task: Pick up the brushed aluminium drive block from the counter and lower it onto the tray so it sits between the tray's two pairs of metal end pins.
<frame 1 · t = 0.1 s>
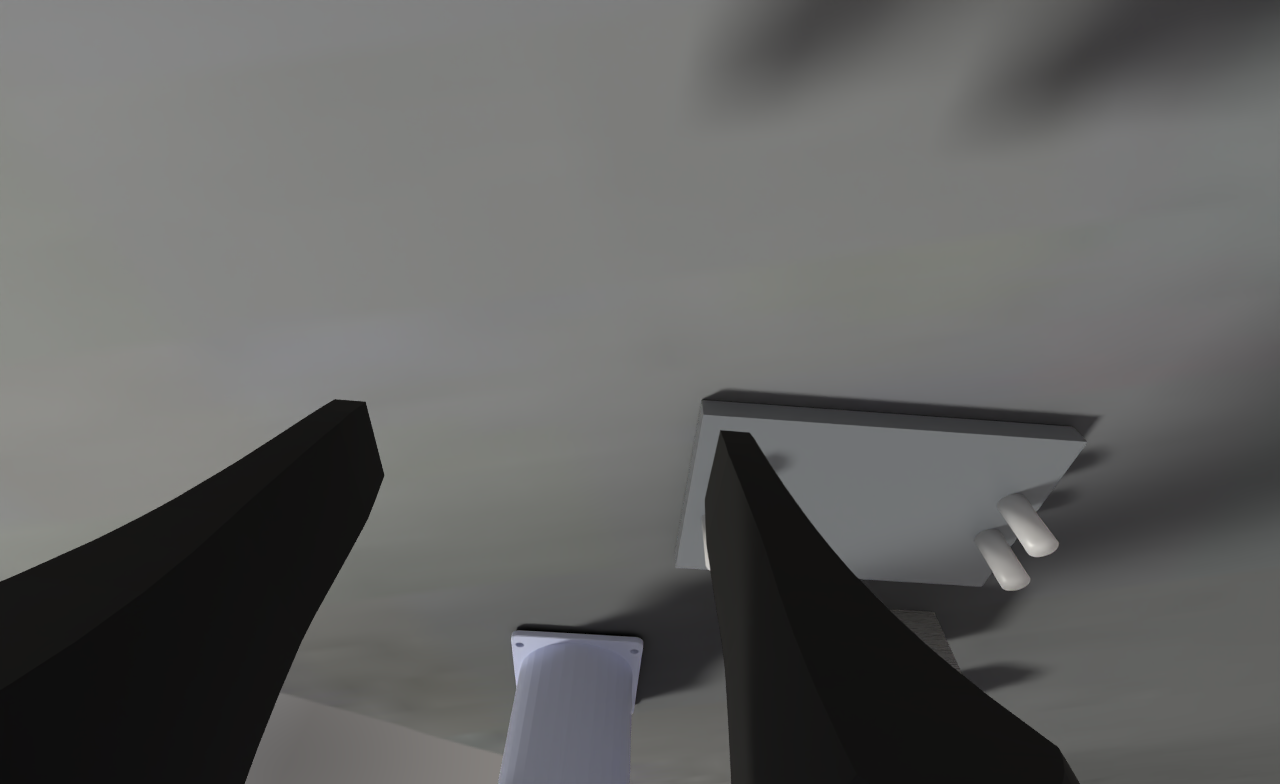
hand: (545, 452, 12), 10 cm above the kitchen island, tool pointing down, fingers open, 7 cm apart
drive: (846, 624, 33), on the kitchen island
pin tray: (853, 495, 26), on the kitchen island
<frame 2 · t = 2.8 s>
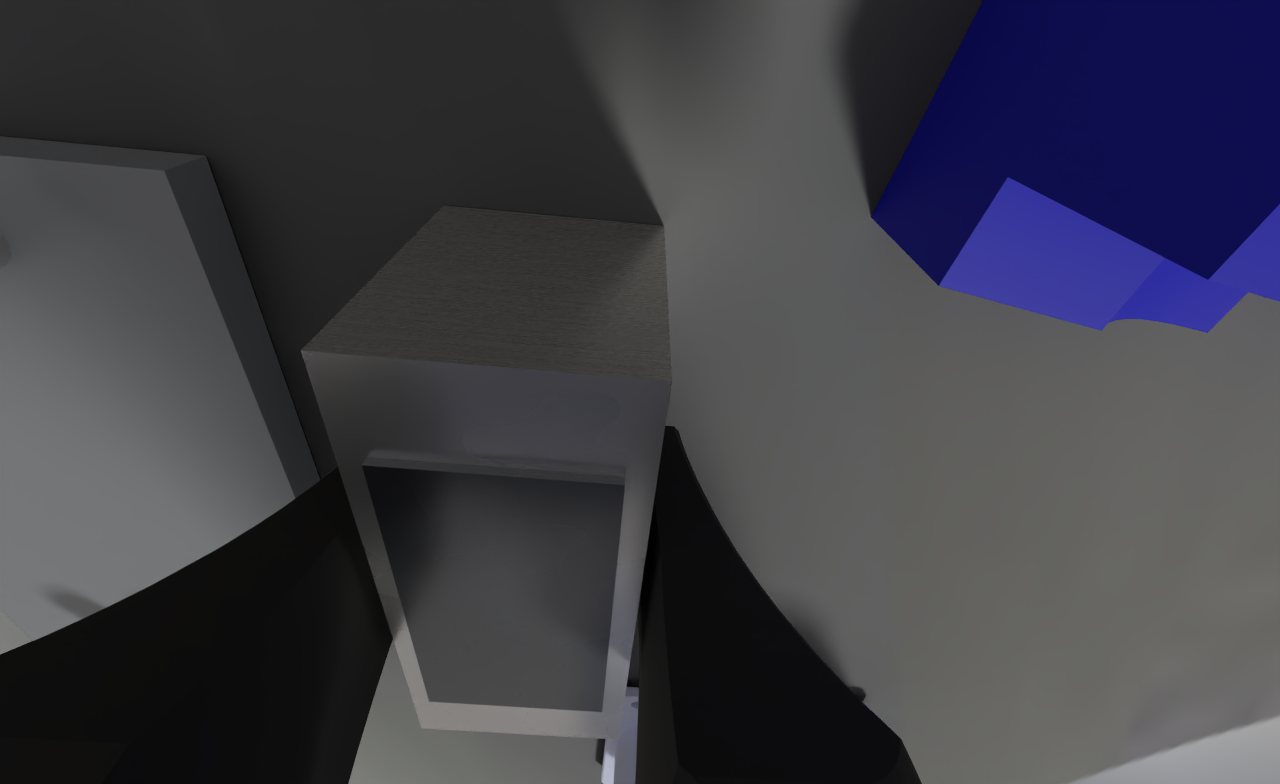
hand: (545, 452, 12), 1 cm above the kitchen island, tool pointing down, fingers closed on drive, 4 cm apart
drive: (555, 410, 13), on the kitchen island, touching gripper
pin tray: (121, 469, 14), on the kitchen island
cable clip: (1235, 177, 10), on the kitchen island
when the fingers open (4 cm above the kitchen island, at t = 6.4 s): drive stays where it is, resting on pin tray.
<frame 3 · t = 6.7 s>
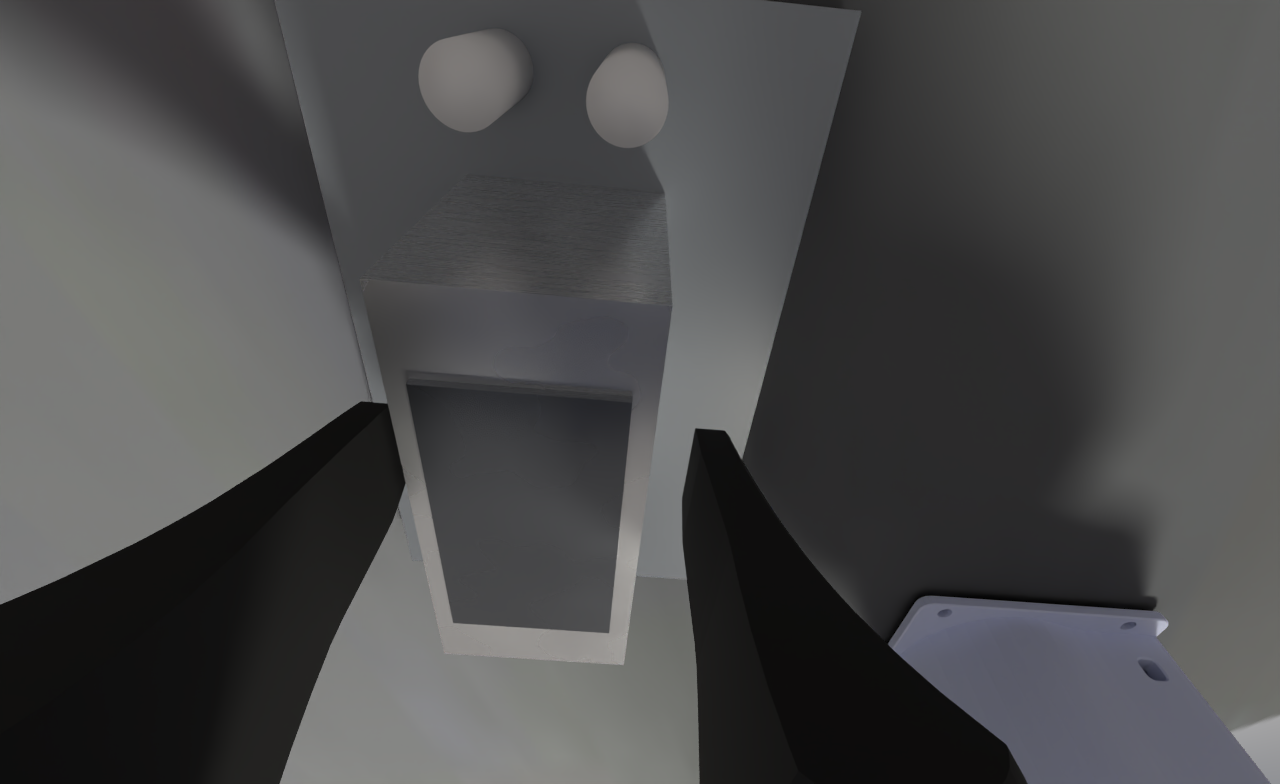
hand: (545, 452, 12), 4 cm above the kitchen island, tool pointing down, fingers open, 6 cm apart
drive: (564, 368, 14), point 1 cm above the kitchen island, touching pin tray
pin tray: (568, 353, 15), on the kitchen island
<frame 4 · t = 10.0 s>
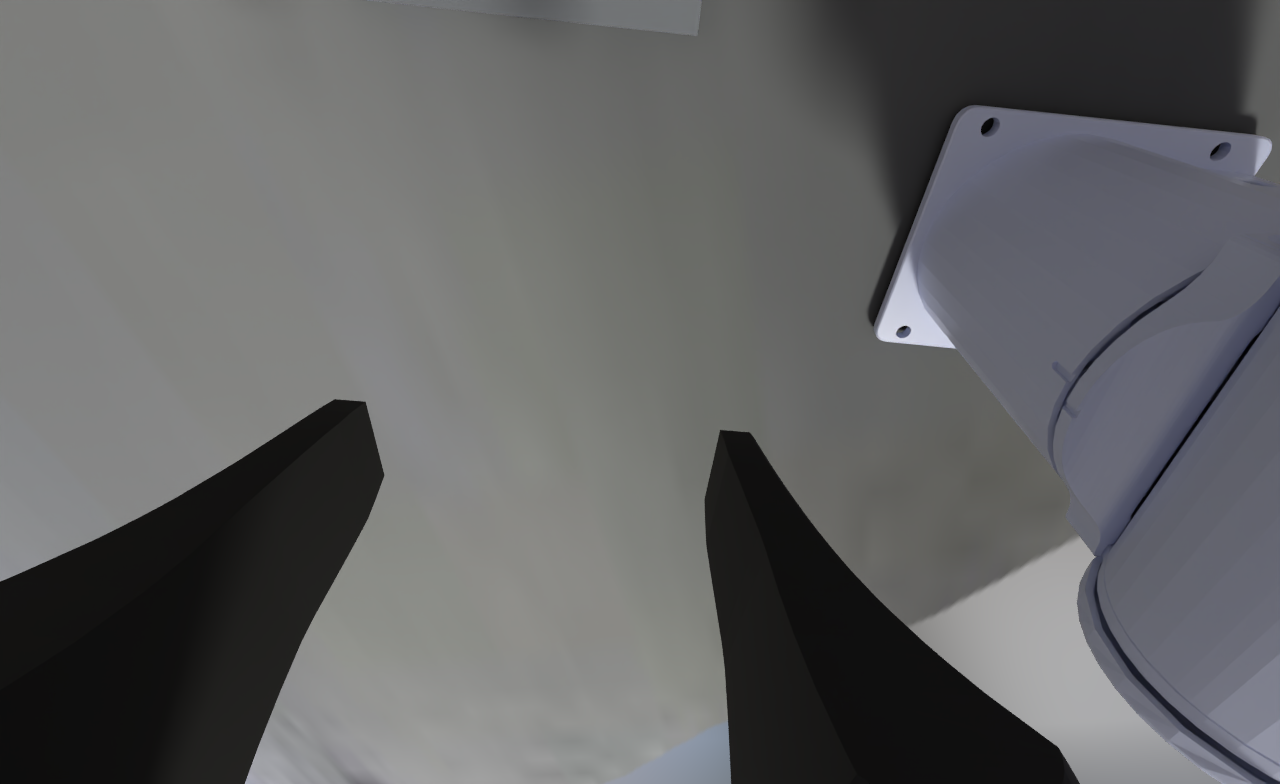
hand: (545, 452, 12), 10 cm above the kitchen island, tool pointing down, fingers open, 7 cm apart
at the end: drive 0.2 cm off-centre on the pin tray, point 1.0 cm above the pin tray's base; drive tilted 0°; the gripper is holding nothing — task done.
